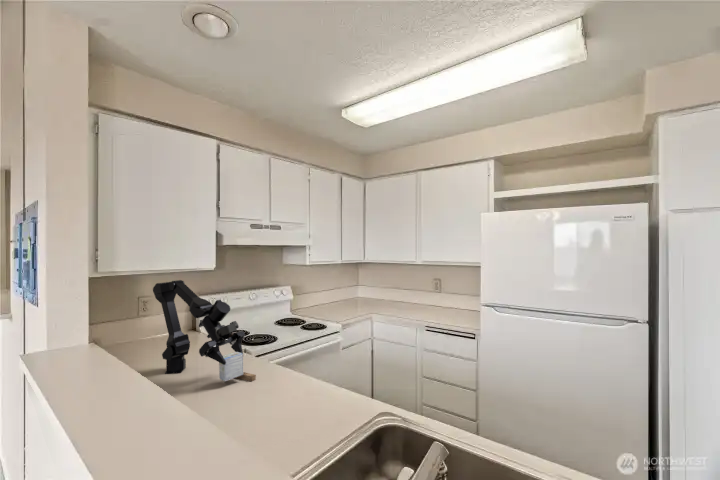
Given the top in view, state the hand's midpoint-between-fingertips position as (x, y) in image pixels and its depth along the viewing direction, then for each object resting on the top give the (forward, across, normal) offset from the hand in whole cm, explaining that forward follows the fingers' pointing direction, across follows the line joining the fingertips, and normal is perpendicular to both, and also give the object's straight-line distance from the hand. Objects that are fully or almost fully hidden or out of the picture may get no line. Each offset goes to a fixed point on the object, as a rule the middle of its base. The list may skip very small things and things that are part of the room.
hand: (234, 360), depth 129 cm
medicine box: (+4, 0, +6) cm, 7 cm away
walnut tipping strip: (+6, +6, +8) cm, 12 cm away
